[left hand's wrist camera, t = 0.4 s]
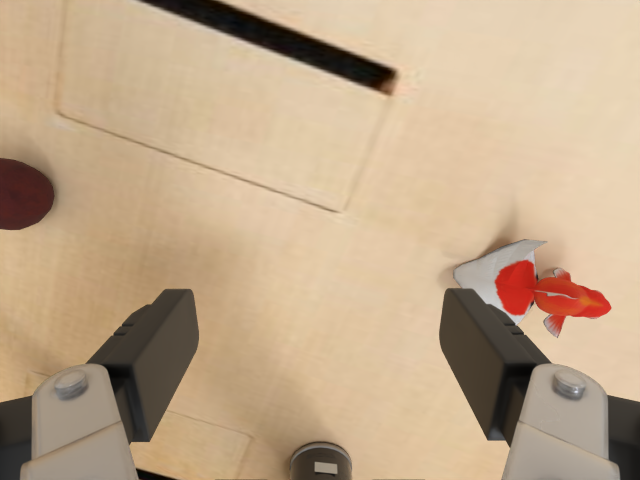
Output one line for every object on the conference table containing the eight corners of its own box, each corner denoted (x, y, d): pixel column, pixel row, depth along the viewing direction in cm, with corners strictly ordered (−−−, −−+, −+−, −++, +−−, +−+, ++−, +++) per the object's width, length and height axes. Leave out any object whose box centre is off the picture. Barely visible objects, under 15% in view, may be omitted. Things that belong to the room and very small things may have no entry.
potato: (-15, 158, 38) (-85, 168, 32) (54, 149, 38) (-2, 158, 31) (14, 222, 41) (-46, 244, 34) (78, 215, 40) (31, 235, 34)
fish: (554, 367, 42) (598, 387, 32) (433, 298, 46) (441, 298, 37) (598, 289, 42) (655, 286, 33) (474, 227, 47) (493, 209, 37)
